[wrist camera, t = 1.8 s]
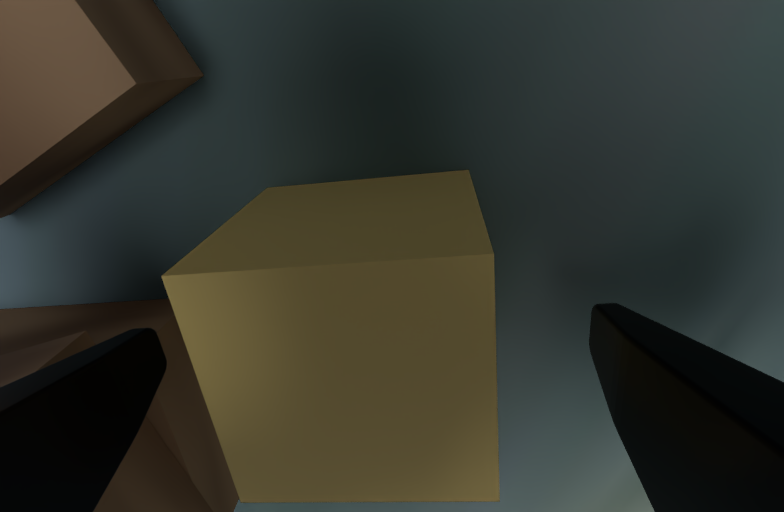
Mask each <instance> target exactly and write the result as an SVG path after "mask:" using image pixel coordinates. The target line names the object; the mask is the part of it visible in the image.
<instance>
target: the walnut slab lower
mask: <svg viewBox="0 0 784 512" xmlns="http://www.w3.org/2000/svg"><path fill="white" fill-rule="evenodd" d="M134 328H152V329H154V330H155V331H156V333H157V335H158V338H159V340H160V343H161V345H162V348H163V351H164V353H165V356H166V359H167V368H166V371H165V374H164V376H163V378H162V381H161V383H160V385H159V387H158V389H157V392H156V394H155V396H154V398H153V401H152V403H151V405H150V407H149V410H148V412H147V414H146V417H147V418H148V420H149V421H150V422H151V424H152V425H153V427H154V428H155V430H156V431H157V432H158V434H159V435H160V437H161V438H162V439H163V441H164V442H165V444H166V445H167V447H168V448H169V449H170V451H171V452H172V454H173V455H174V456H175V458H176V459H177V461H178V462H179V464H180V465H181V466H182V468H183V469H184V471H185V472H186V474H187V475H188V476H189V478H190V479H191V481H192V482H193V483H194V485H195V486H196V488H197V489H198V491H199V492H200V493H201V495H202V496H203V498H204V499H205V501H206V502H207V503H208V505H209V506H210V508H211V509H212V510H213V512H233V511H234V509H235V507H236V504H237V502H238V500H239V496H238V493H237V490H236V487H235V485H234V482H233V479H232V476H231V473H230V470H229V468H228V465H227V462H226V459H225V456H224V453H223V450H222V448H221V445H220V442H219V439H218V436H217V433H216V431H215V428H214V425H213V422H212V419H211V416H210V413H209V411H208V408H207V405H206V402H205V399H204V396H203V394H202V391H201V388H200V385H199V382H198V379H197V377H196V374H195V371H194V368H193V365H192V362H191V359H190V357H189V354H188V351H187V348H186V345H185V342H184V340H183V337H182V334H181V331H180V328H179V325H178V322H177V320H176V317H175V314H174V311H173V308H172V305H171V303H170V300H169V299H156V300H140V301H124V302H108V303H92V304H76V305H60V306H44V307H29V308H13V309H0V355H3V354H7V353H10V352H14V351H17V350H21V349H24V348H28V347H31V346H35V345H38V344H42V343H45V342H48V341H52V340H55V339H59V338H62V337H66V336H69V335H73V334H76V333H80V332H83V331H86V332H87V333H88V334H89V336H90V337H91V339H92V340H93V341H94V343H95V344H99V343H101V342H103V341H105V340H108V339H110V338H112V337H114V336H117V335H119V334H121V333H123V332H126V331H128V330H130V329H134Z"/></svg>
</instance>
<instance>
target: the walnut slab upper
mask: <svg viewBox="0 0 784 512" xmlns="http://www.w3.org/2000/svg"><path fill="white" fill-rule="evenodd" d="M94 345H96V344H95V343H94V341H93V340H92V339H91V337H90V336H89V334H88V333H87V332H86V331H83V332H80V333H76V334H73V335H69V336H66V337H62V338H59V339H55V340H52V341H48V342H45V343H42V344H38V345H35V346H31V347H28V348H24V349H21V350H17V351H14V352H10V353H7V354H3V355H0V387H2V386H4V385H7V384H9V383H11V382H13V381H16V380H18V379H20V378H22V377H25V376H27V375H29V374H31V373H34V372H36V371H38V370H40V369H43V368H45V367H47V366H49V365H51V364H54V363H56V362H58V361H60V360H63V359H65V358H67V357H69V356H72V355H74V354H76V353H78V352H81V351H83V350H85V349H87V348H90V347H92V346H94ZM94 512H213V510H212V509H211V508H210V506H209V505H208V503H207V502H206V501H205V499H204V498H203V496H202V495H201V493H200V492H199V491H198V489H197V488H196V486H195V485H194V483H193V482H192V481H191V479H190V478H189V476H188V475H187V474H186V472H185V471H184V469H183V468H182V466H181V465H180V464H179V462H178V461H177V459H176V458H175V456H174V455H173V454H172V452H171V451H170V449H169V448H168V447H167V445H166V444H165V442H164V441H163V439H162V438H161V437H160V435H159V434H158V432H157V431H156V430H155V428H154V427H153V425H152V424H151V422H150V421H149V420H148V418H147V417H146V416H145V419H144V421H143V423H142V425H141V427H140V429H139V431H138V433H137V435H136V437H135V439H134V441H133V443H132V445H131V446H130V448H129V450H128V452H127V453H126V455H125V457H124V459H123V461H122V462H121V464H120V466H119V468H118V469H117V471H116V473H115V475H114V476H113V478H112V480H111V482H110V483H109V485H108V487H107V489H106V490H105V492H104V494H103V496H102V498H101V499H100V501H99V503H98V505H97V506H96V508H95V510H94Z"/></svg>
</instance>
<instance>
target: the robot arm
mask: <svg viewBox="0 0 784 512" xmlns="http://www.w3.org/2000/svg"><path fill="white" fill-rule="evenodd" d="M589 346H590V352H591V355H592V359H593V362H594V365H595V368H596V371H597V374H598V377H599V380H600V383H601V386H602V389H603V392H604V396H605V399H606V402H607V405H608V408H609V411H610V414H611V417H612V419H613V422H614V425H615V427H616V429H617V432H618V434H619V436H620V438H621V440H622V442H623V445H624V447H625V449H626V451H627V453H628V455H629V457H630V460H631V462H632V464H633V466H634V468H635V470H636V473H637V475H638V477H639V479H640V481H641V483H642V485H643V488H644V490H645V492H646V494H647V496H648V498H649V500H650V503H651V505H652V507H653V509H654V511H655V512H784V382H782V381H780V380H778V379H775V378H773V377H771V376H769V375H767V374H765V373H763V372H761V371H759V370H756V369H754V368H752V367H750V366H748V365H746V364H744V363H742V362H740V361H737V360H735V359H733V358H731V357H729V356H727V355H725V354H723V353H721V352H718V351H716V350H714V349H712V348H710V347H708V346H706V345H704V344H702V343H699V342H697V341H695V340H693V339H691V338H689V337H687V336H685V335H683V334H680V333H678V332H676V331H674V330H672V329H670V328H668V327H666V326H664V325H661V324H659V323H657V322H655V321H653V320H651V319H649V318H647V317H645V316H642V315H640V314H638V313H636V312H634V311H632V310H630V309H628V308H626V307H624V306H621V305H619V304H617V303H606V304H596V305H594V306H593V308H592V312H591V324H590V337H589ZM166 368H167V359H166V356H165V353H164V351H163V348H162V345H161V343H160V340H159V338H158V335H157V333H156V331H155V330H154V329H152V328H134V329H130V330H128V331H126V332H123V333H121V334H119V335H117V336H114V337H112V338H110V339H108V340H105V341H103V342H101V343H99V344H96V345H94V346H92V347H90V348H87V349H85V350H83V351H81V352H78V353H76V354H74V355H72V356H69V357H67V358H65V359H63V360H60V361H58V362H56V363H54V364H51V365H49V366H47V367H45V368H43V369H40V370H38V371H36V372H34V373H31V374H29V375H27V376H25V377H22V378H20V379H18V380H16V381H13V382H11V383H9V384H7V385H4V386H2V387H0V512H94V510H95V508H96V506H97V505H98V503H99V501H100V499H101V498H102V496H103V494H104V492H105V490H106V489H107V487H108V485H109V483H110V482H111V480H112V478H113V476H114V475H115V473H116V471H117V469H118V468H119V466H120V464H121V462H122V461H123V459H124V457H125V455H126V453H127V452H128V450H129V448H130V446H131V445H132V443H133V441H134V439H135V437H136V435H137V433H138V431H139V429H140V427H141V425H142V423H143V421H144V419H145V416H146V414H147V412H148V410H149V407H150V405H151V403H152V401H153V398H154V396H155V394H156V392H157V389H158V387H159V385H160V383H161V381H162V378H163V376H164V374H165V371H166Z"/></svg>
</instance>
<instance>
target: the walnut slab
mask: <svg viewBox="0 0 784 512" xmlns="http://www.w3.org/2000/svg"><path fill="white" fill-rule="evenodd" d="M203 76H204V75H203V73H202V72H201V70H200V69H199V67H198V66H197V65H196V63H195V62H194V60H193V59H192V57H191V56H190V54H189V53H188V51H187V50H186V48H185V47H184V45H183V44H182V42H181V41H180V40H179V38H178V37H177V35H176V34H175V32H174V31H173V29H172V28H171V26H170V25H169V23H168V22H167V20H166V19H165V18H164V16H163V15H162V13H161V12H160V10H159V9H158V7H157V6H156V4H155V3H154V1H153V0H0V218H2V217H5V216H7V215H10V214H11V213H13V212H14V211H15V210H17V209H18V208H20V207H21V206H22V205H24V204H25V203H27V202H28V201H29V200H31V199H32V198H33V197H35V196H36V195H38V194H39V193H40V192H42V191H43V190H45V189H46V188H47V187H49V186H50V185H52V184H53V183H54V182H56V181H57V180H59V179H60V178H61V177H63V176H64V175H66V174H67V173H68V172H70V171H71V170H73V169H74V168H75V167H77V166H78V165H80V164H81V163H82V162H84V161H85V160H87V159H88V158H89V157H91V156H92V155H94V154H95V153H96V152H98V151H99V150H101V149H102V148H103V147H105V146H106V145H108V144H109V143H110V142H112V141H113V140H115V139H116V138H117V137H119V136H120V135H122V134H123V133H124V132H126V131H127V130H129V129H130V128H131V127H133V126H134V125H136V124H137V123H138V122H140V121H141V120H143V119H144V118H145V117H147V116H148V115H150V114H151V113H152V112H154V111H155V110H157V109H158V108H159V107H161V106H162V105H164V104H165V103H166V102H168V101H169V100H171V99H172V98H173V97H175V96H176V95H178V94H179V93H180V92H182V91H183V90H185V89H186V88H187V87H189V86H190V85H192V84H193V83H194V82H196V81H197V80H199V79H200V78H201V77H203Z"/></svg>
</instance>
